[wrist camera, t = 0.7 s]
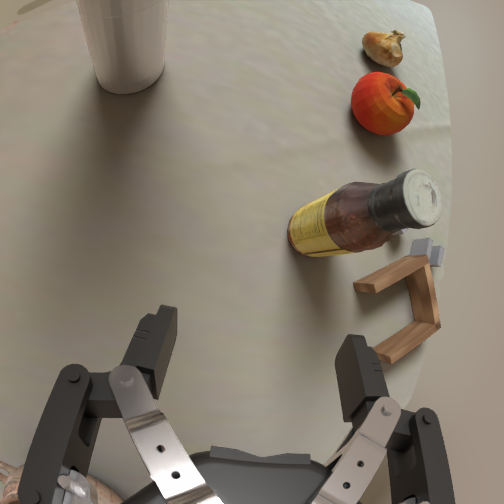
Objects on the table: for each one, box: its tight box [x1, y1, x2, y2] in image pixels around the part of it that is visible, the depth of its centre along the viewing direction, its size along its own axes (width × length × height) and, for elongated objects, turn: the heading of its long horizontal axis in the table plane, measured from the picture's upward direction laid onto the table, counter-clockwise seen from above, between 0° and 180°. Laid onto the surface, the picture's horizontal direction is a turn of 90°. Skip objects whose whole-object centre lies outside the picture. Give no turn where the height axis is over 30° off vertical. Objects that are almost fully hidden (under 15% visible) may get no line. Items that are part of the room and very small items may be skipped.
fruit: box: [351, 72, 420, 135], centre depth 36 cm, size 10×10×10 cm
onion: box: [362, 30, 405, 67], centre depth 39 cm, size 8×8×8 cm
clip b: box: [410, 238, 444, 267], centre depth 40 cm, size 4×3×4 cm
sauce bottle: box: [288, 169, 442, 257], centre depth 27 cm, size 7×6×20 cm
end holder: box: [353, 255, 441, 364], centre depth 37 cm, size 11×11×4 cm
